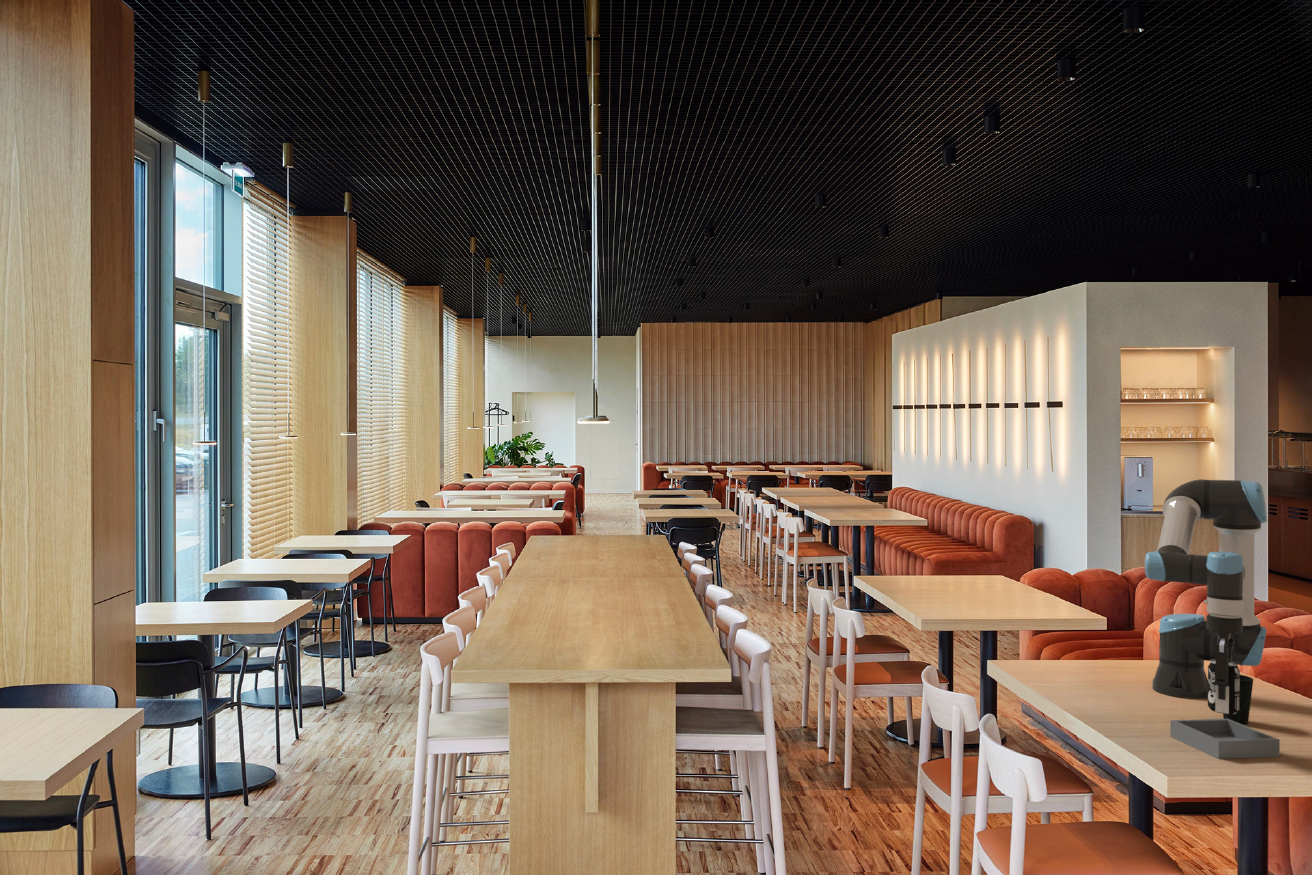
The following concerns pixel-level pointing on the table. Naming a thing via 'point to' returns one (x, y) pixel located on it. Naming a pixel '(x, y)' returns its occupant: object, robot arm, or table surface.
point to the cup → (1243, 701)
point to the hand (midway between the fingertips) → (1223, 708)
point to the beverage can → (1233, 686)
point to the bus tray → (1224, 738)
